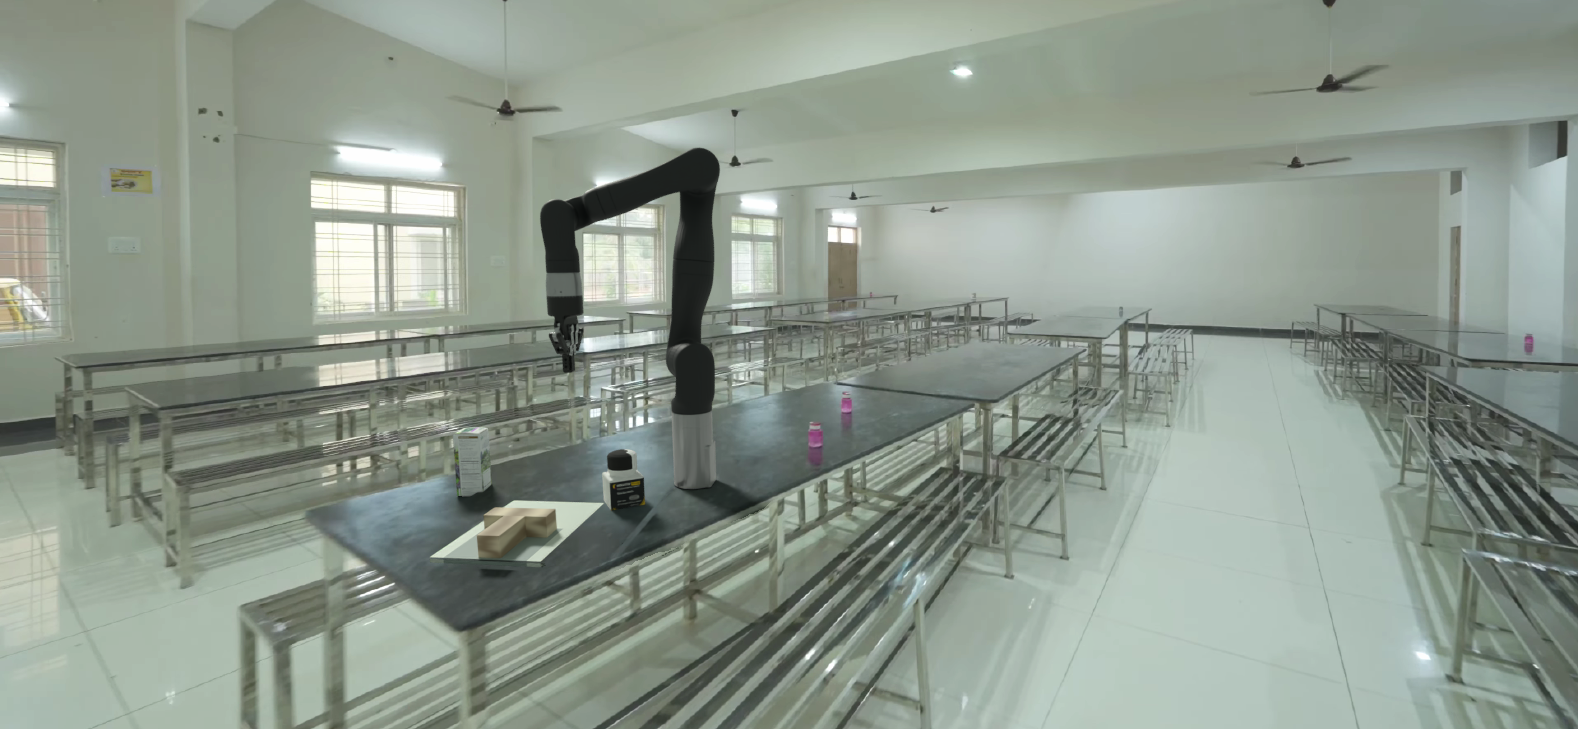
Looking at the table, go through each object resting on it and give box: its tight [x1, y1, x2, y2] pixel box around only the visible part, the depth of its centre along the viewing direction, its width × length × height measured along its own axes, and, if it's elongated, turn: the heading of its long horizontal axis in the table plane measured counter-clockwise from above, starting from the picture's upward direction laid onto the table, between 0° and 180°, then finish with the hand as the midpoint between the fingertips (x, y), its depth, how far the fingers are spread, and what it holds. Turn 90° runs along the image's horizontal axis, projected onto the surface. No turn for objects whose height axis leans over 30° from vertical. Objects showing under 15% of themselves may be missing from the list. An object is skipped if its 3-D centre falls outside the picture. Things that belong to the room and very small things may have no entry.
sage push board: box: [429, 499, 605, 568], centre depth 127 cm, size 20×28×1 cm
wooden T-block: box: [477, 506, 557, 558], centre depth 120 cm, size 12×13×4 cm
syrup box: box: [452, 426, 493, 497], centre depth 149 cm, size 6×6×14 cm
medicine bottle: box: [601, 448, 646, 511], centre depth 139 cm, size 7×7×12 cm
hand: (569, 372), depth 148 cm, fingers closed
